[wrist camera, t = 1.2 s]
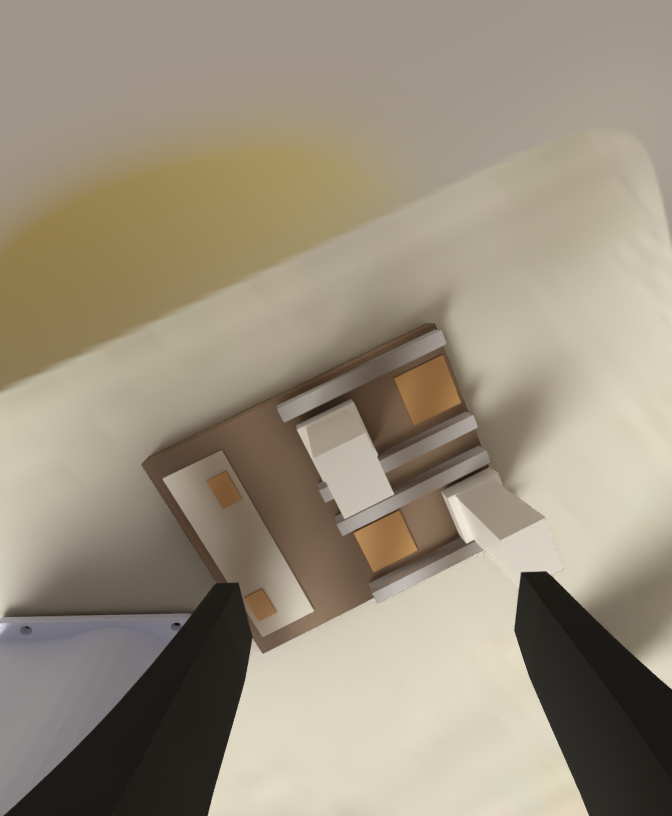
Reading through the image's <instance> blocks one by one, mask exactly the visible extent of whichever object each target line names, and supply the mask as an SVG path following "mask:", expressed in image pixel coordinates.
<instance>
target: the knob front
mask: <svg viewBox="0 0 672 816" xmlns="http://www.w3.org/2000/svg"><path fill="white" fill-rule="evenodd" d="M296 428H297V431H298V433H299V435H300V437H301V439H302V441H303V443H304V445H305V447H306V449H307V451H308V453H309V455H310V457H311V459H312V461H313V463H314V465H315V467H316V468H317V470H318V472H319V474H320V476H321V478H322V480H323V482H326V484H327V486H328V487H329V489H330V491H331V493H332V495H333V497H334V499H335V501H336V503H337V505H338V507H339V509H340V511H341V513H342V515H343V517H344V519H346V518H348V517H350V516H352V515H354V514H356V513H358V512H360V511H362V510H364V509H366V508H368V507H370V506H372V505H374V504H376V503H378V502H380V501H382V500H384V499H386V498H388V497H390V496H392V495H394V493H393V490H392V488H391V486H390V484H389V482H388V480H387V477H386V475H385V473H384V471H383V469H382V466H381V464H380V462H379V460H378V458H377V456H378V454H377V452H376V450H375V447H374V445H373V443H372V441H371V439H370V436H369V434H368V432H367V430H366V428H365V425H364V423H363V421H362V419H361V417H360V415H359V412H358V410H357V408H356V406H355V404H354V402H353V401H352V400H351V399H349V400H347V401H345V402H343V403H341V404H339V405H337V406H335V407H333V408H331V409H329V410H326V411H324V412H322V413H320V414H318V415H316V416H314V417H312V418H310V419H308V420H306V421H304V422H302V423H300V424H298V425H296Z"/></svg>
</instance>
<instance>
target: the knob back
mask: <svg viewBox="0 0 672 816" xmlns="http://www.w3.org/2000/svg"><path fill="white" fill-rule="evenodd" d="M441 493H442V495H443V498H444V500H445V502H446V505H447V507H448V509H449V512H450V514H451V517H452V519H453V521H454V524H455V526H456V528H457V531H458V533H459V535H460V537H461V538H462V539H463V540H464V541H465V542H466V544H467V543H469V542H471V541H473V540H475V541H476V543H477V544H478V545H479V546H480V547H481V548H482V549H483V550H484V551H485V553H486V554H487V555H488V556H489V557H490V558H491V559H492V560H493V561H494V563H495V564H496V565H497V566H498V567H499V568H500V569H501V570H502V572H503V573H504V574H505V575H506V576H507V577H508V578H509V579H510V580H511V582H512V583H513V584H514V585H515V586H516V587H517V588H518V589H519V584H520V575H521V572H537V571H547V572H548V573H549V574H550V575H553V574H555V573H557V572H559V571H561V570H563V566H562V563H561V560H560V557H559V554H558V551H557V549H556V546H555V543H554V540H553V537H552V534H551V531H550V528H549V526H548V523H547V520H546V517H544V516H543V515H542V514H540V513H539V512H537V511H536V510H535V509H533V508H532V507H531V506H529V505H528V504H527V503H525V502H524V501H522V500H521V499H520V498H518V497H517V496H516V495H514V494H513V493H512V492H510V491H509V490H507V489H506V488H505V487H504V486H503V484H502V481H501V478H500V476H499V473H498V472H497V471H495V470H494V469H492V468H491V467H489V468H487V469H485V470H483V471H481V472H479V473H477V474H475V475H473V476H471V477H469V478H467V479H465V480H463V481H461V482H459V483H457V484H455V485H453V486H451V487H449V488H447V489H445V490H443V491H441Z"/></svg>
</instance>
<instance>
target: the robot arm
mask: <svg viewBox="0 0 672 816" xmlns="http://www.w3.org/2000/svg"><path fill="white" fill-rule="evenodd" d="M176 622H177V623H180V624H181V625H179V626H177V625H175V624H173V623H176ZM26 626H28V627H30V628H31V629H28V628H26ZM514 631H515V634H516V637H517V640H518V644H519V647H520V650H521V653H522V656H523V659H524V662H525V665H526V668H527V671H528V674H529V677H530V679H531V682H532V684H533V686H534V689H535V691H536V693H537V696H538V698H539V700H540V703H541V705H542V707H543V710H544V712H545V714H546V717H547V719H548V721H549V723H550V726H551V728H552V730H553V732H554V735H555V737H556V739H557V742H558V744H559V746H560V748H561V751H562V753H563V755H564V758H565V760H566V762H567V764H568V767H569V769H570V771H571V773H572V776H573V778H574V780H575V783H576V785H577V787H578V789H579V792H580V794H581V797H582V799H583V802H584V804H585V807H586V809H587V811H588V814H589V816H672V689H671V688H669V687H668V686H667V685H666V684H665V683H664V682H663V681H661V680H660V679H659V678H658V677H657V676H656V675H655V674H653V673H652V672H651V671H650V670H649V669H648V668H647V667H646V666H645V665H643V664H642V663H641V662H640V661H639V660H638V659H637V658H636V657H635V656H634V655H633V654H631V653H630V652H629V651H628V650H627V649H626V648H625V647H624V646H623V645H622V644H621V643H620V642H619V641H618V640H616V639H615V638H614V637H613V636H612V635H611V634H610V633H609V632H608V631H607V630H606V629H605V628H604V627H603V626H602V625H601V624H600V623H599V622H598V621H596V620H595V619H594V618H593V617H592V616H591V615H590V614H589V613H588V612H587V611H586V610H585V609H584V608H583V607H582V606H581V605H580V604H579V603H578V602H577V601H576V600H575V599H574V598H573V597H572V596H571V595H570V594H569V593H568V592H567V591H566V590H565V589H564V588H563V587H562V586H561V585H560V584H559V583H558V582H557V581H556V580H555V579H554V578H553V577H552V576H551V575H550V574H549V573H548V572H547V571H537V572H521V575H520V584H519V593H518V602H517V611H516V620H515V629H514ZM251 643H252V633H251V629H250V625H249V621H248V617H247V613H246V610H245V606H244V602H243V598H242V594H241V590H240V586H239V582H237V583H216V584H215V585H214V586H213V587H212V589H211V590H210V591H209V592H208V594H207V595H206V596H205V598H204V599H203V600H202V602H201V603H200V604H199V605H198V607H197V608H196V609H195V611H194V612H193V613H192V614H188V613H185V614H135V615H86V616H37V617H5V618H2V619H0V816H208V812H209V808H210V804H211V800H212V796H213V792H214V788H215V785H216V781H217V778H218V774H219V771H220V767H221V764H222V760H223V757H224V753H225V750H226V746H227V743H228V739H229V736H230V732H231V729H232V725H233V722H234V718H235V714H236V711H237V707H238V704H239V700H240V697H241V693H242V689H243V686H244V682H245V677H246V672H247V666H248V661H249V655H250V649H251Z"/></svg>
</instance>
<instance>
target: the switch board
mask: <svg viewBox="0 0 672 816" xmlns="http://www.w3.org/2000/svg"><path fill="white" fill-rule="evenodd" d="M446 344H447V343H446V340H445V337H444V335H443V332H442V330H437V328H436V325H435V324H425V325H423V326H421V327H419V328H417V329H415V330H413V331H410V332H408V333H406V334H404V335H402V336H400V337H398V338H396V339H394V340H392V341H390V342H388V343H385V344H383V345H381V346H379V347H377V348H375V349H373V350H371V351H369V352H367V353H365V354H363V355H360V356H358V357H356V358H354V359H352V360H350V361H348V362H346V363H344V364H342V365H340V366H338V367H335V368H333V369H331V370H329V371H327V372H325V373H323V374H321V375H319V376H317V377H315V378H313V379H310V380H308V381H306V382H304V383H302V384H300V385H298V386H296V387H294V388H292V389H290V390H288V391H285V392H283V393H281V394H279V395H277V396H275V397H273V398H271V399H269V400H267V401H265V402H263V403H260V404H258V405H256V406H254V407H252V408H250V409H248V410H246V411H244V412H242V413H240V414H238V415H235V416H233V417H231V418H229V419H227V420H225V421H223V422H221V423H219V424H217V425H215V426H213V427H210V428H208V429H206V430H204V431H202V432H200V433H198V434H196V435H194V436H192V437H190V438H188V439H185V440H183V441H181V442H179V443H177V444H175V445H173V446H171V447H169V448H167V449H165V450H163V451H160V452H158V453H156V454H154V455H152V456H150V457H148V458H147V459H146V460H145V461H144V462H143V463H142V464H141V465H142V466H143V468H144V470H145V471H146V473H147V474H148V476H149V477H150V479H151V480H152V482H153V484H154V485H155V487H156V488H157V490H158V491H159V493H160V494H161V496H162V498H163V499H164V501H165V502H166V504H167V505H168V507H169V508H170V510H171V512H172V513H173V515H174V516H175V518H176V519H177V521H178V523H179V524H180V526H181V527H182V529H183V530H184V532H185V533H186V535H187V537H188V538H189V540H190V541H191V543H192V544H193V546H194V547H195V549H196V551H197V552H198V554H199V555H200V557H201V558H202V560H203V561H204V563H205V565H206V566H207V568H208V569H209V571H210V572H211V574H212V575H213V577H214V579H215V580H216V582H217V583H237V582H239V586H240V590H241V594H242V598H243V602H244V606H245V610H246V613H247V617H248V621H249V625H250V629H251V633H252V638H253V639H254V641H255V642H256V644H257V646H258V647H259V649H260V650H261V652H262V653H265V652H267V651H269V650H271V649H273V648H275V647H277V646H279V645H281V644H283V643H285V642H287V641H289V640H291V639H293V638H295V637H297V636H299V635H301V634H303V633H305V632H307V631H309V630H311V629H313V628H315V627H317V626H319V625H321V624H323V623H325V622H327V621H329V620H331V619H333V618H335V617H337V616H339V615H341V614H343V613H345V612H347V611H349V610H351V609H353V608H355V607H357V606H359V605H361V604H362V603H364V602H366V601H368V600H370V599H372V598H375V600H376V602H377V604H378V603H380V602H382V601H384V600H386V599H388V598H390V597H392V596H394V595H396V594H398V593H400V592H402V591H404V590H406V589H408V588H410V587H411V586H413V585H415V584H417V583H419V582H421V581H423V580H425V579H427V578H429V577H431V576H433V575H435V574H437V573H439V572H441V571H443V570H445V569H447V568H449V567H451V566H453V565H455V564H457V563H459V562H461V561H463V560H465V559H467V558H469V557H471V556H473V555H475V554H477V553H479V552H481V551H483V549H482V548H481V547H480V546H479V545H478V544H477V543H476V541H475V540H473V541H471V542H469V543H467V544H466V542H465V541H464V540H463V539H462V538H461V537H460V535H459V533H458V531H457V528H456V526H455V524H454V521H453V519H452V517H451V514H450V512H449V509H448V507H447V505H446V502H445V500H444V498H443V495H442V493H441V491H443V490H445V489H447V488H449V487H451V486H453V485H455V484H457V483H459V482H461V481H463V480H465V479H467V478H469V477H471V476H473V475H475V474H477V473H479V472H481V471H483V470H485V469H487V468H489V466H488V464H489V463H491V460H490V458H489V455H488V452H487V450H486V449H484V448H482V447H481V445H480V442H479V439H478V437H477V434H476V431H475V429H476V428H478V426H477V423H476V420H475V418H474V415H473V414H471V413H469V412H468V410H467V408H466V405H465V402H464V400H463V397H462V394H461V392H460V389H459V386H458V384H457V381H456V378H455V376H454V373H453V370H452V368H451V365H450V362H449V360H448V357H447V355H446V352H445V349H444V347H443V346H444V345H446ZM349 399H351V400H352V401H353V402H354V404H355V406H356V408H357V410H358V412H359V415H360V417H361V419H362V421H363V423H364V425H365V428H366V430H367V432H368V434H369V436H370V439H371V441H372V443H373V445H374V447H375V450H376V452H377V454H378V456H377V458H378V460H379V462H380V464H381V466H382V469H383V471H384V473H385V475H386V477H387V480H388V482H389V484H390V486H391V488H392V490H393V493H394V495H392V496H390V497H388V498H386V499H384V500H382V501H380V502H378V503H376V504H374V505H372V506H370V507H368V508H366V509H364V510H362V511H360V512H358V513H356V514H354V515H352V516H350V517H348V518H346V519H344V517H343V515H342V513H341V511H340V509H339V507H338V505H337V503H336V501H335V499H334V497H333V495H332V493H331V491H330V489H329V487H328V486H327V484H326V482H323V480H322V478H321V476H320V474H319V472H318V470H317V468H316V467H315V465H314V463H313V461H312V459H311V457H310V455H309V453H308V451H307V449H306V447H305V445H304V443H303V441H302V439H301V437H300V435H299V433H298V431H297V428H296V425H298V424H300V423H302V422H304V421H306V420H308V419H310V418H312V417H314V416H316V415H318V414H320V413H322V412H324V411H326V410H329V409H331V408H333V407H335V406H337V405H339V404H341V403H343V402H345V401H347V400H349Z"/></svg>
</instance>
